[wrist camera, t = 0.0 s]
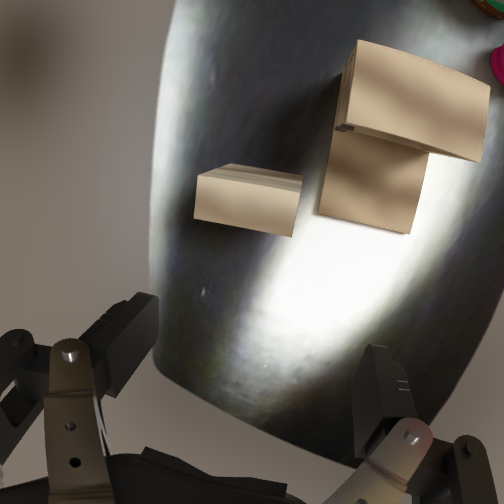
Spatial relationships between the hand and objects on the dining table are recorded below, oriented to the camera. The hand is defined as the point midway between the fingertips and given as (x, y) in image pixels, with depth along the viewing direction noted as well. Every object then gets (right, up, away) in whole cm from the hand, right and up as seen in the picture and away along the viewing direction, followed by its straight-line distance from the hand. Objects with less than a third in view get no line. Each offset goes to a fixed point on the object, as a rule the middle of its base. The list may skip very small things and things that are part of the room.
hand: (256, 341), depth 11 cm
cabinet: (+15, +15, +23) cm, 31 cm away
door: (+1, +11, +27) cm, 30 cm away
